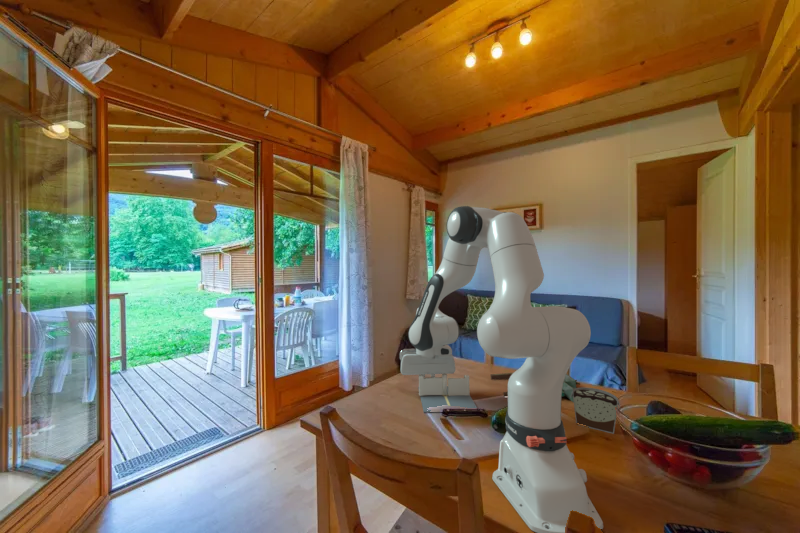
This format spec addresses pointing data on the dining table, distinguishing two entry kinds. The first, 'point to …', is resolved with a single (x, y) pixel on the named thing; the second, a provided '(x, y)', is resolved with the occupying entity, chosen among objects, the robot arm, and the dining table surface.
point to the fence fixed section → (458, 386)
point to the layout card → (446, 401)
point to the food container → (595, 408)
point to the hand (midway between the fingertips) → (427, 385)
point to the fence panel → (433, 385)
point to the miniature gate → (567, 387)
